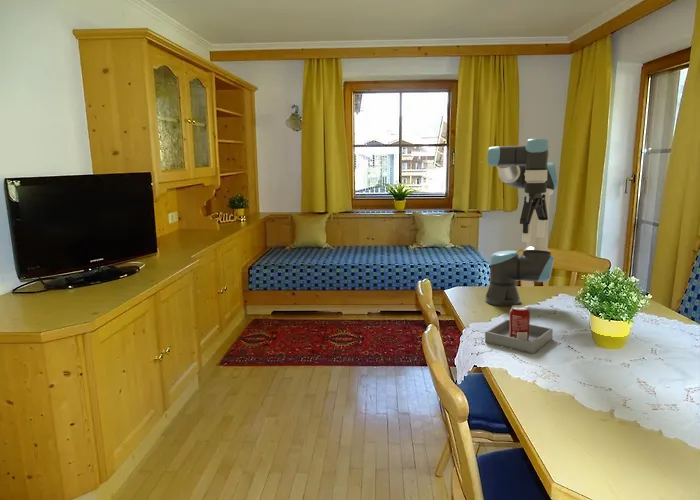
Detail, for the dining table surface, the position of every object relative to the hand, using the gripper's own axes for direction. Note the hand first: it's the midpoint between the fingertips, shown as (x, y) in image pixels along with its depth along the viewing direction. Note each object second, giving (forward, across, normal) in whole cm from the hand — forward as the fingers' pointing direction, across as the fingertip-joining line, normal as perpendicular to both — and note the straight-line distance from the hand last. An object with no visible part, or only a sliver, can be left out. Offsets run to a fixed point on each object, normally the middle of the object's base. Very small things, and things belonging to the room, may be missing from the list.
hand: (533, 239), depth 181 cm
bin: (+35, +15, +2) cm, 38 cm away
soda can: (+34, +15, +2) cm, 38 cm away
